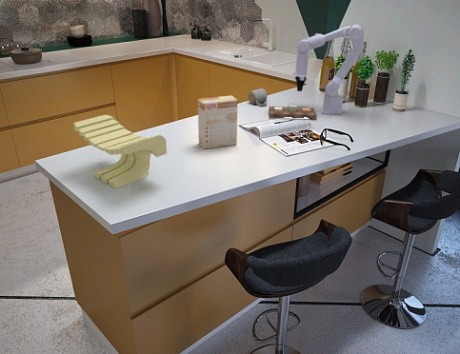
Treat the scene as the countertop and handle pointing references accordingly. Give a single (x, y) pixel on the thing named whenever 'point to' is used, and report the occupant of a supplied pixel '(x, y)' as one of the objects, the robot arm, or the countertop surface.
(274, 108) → the cream button
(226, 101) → the coffeecake box
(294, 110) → the sage button
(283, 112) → the button panel
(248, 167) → the countertop surface
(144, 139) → the slatted lounge chair
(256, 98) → the ceramic mug
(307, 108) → the terracotta button
